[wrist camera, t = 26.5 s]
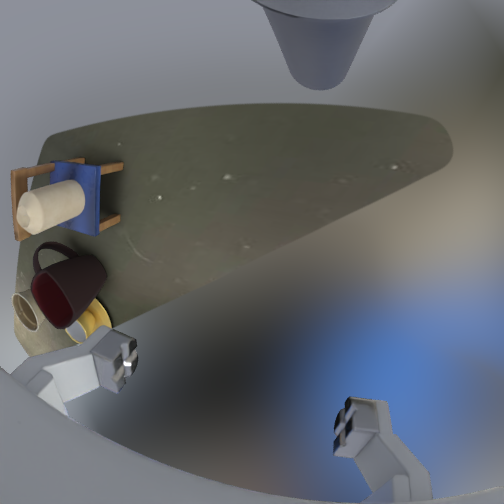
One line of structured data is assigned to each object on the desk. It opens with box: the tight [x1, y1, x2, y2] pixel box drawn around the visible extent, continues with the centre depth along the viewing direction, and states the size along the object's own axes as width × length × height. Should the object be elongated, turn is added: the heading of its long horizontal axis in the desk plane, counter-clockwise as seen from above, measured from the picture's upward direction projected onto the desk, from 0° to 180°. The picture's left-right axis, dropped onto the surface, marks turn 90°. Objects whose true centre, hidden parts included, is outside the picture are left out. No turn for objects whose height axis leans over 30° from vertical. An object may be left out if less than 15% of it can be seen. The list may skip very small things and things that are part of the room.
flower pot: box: [12, 289, 46, 332], centre depth 52 cm, size 9×9×9 cm
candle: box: [16, 180, 85, 234], centre depth 33 cm, size 6×6×10 cm
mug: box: [31, 242, 107, 329], centre depth 44 cm, size 10×14×12 cm
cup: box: [65, 299, 112, 344], centre depth 51 cm, size 12×12×5 cm
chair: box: [11, 157, 123, 241], centre depth 37 cm, size 10×10×15 cm
